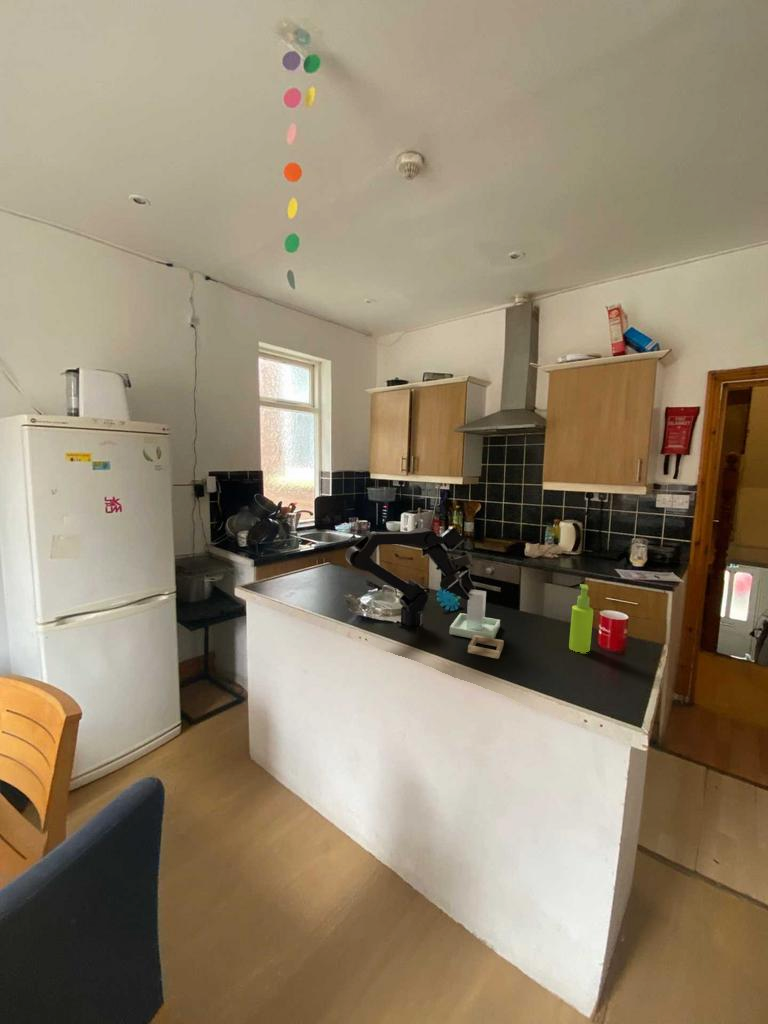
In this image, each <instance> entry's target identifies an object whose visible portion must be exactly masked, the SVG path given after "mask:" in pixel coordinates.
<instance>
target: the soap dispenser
mask: <svg viewBox="0 0 768 1024" xmlns="http://www.w3.org/2000/svg"><path fill="white" fill-rule="evenodd" d="M579 587H580V589H581V590H580V594H579V595H578V596H577V601H576V605H575V604H574V605H572V607H571V619H570V627H569V628H570V630H569V631H570V632H569V641H568V642H569V643H568V648H569V650H570V651H572V650H573V652H574V651H575V653H577V652H580V653H579V654H587V653H586V652H589V651H591V641H592V631H593V630H592V629H593V622H594V621H593V619H594V609H593V608H592V607H590V602H591V598H590V596H588V591H589V586H588V584H585V583H584V584H583V583H580V584H579ZM589 653H590V652H589Z"/></svg>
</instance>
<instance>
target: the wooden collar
mask: <svg viewBox="0 0 768 1024" xmlns="http://www.w3.org/2000/svg"><path fill="white" fill-rule="evenodd" d="M477 644H482V645H487V646H492V647H496V650H495V649H491V648H485V647H481V646H476V645H477ZM503 648H504V640H503V639H497V638H494V639H493V638H488V637H483V636H477V635H474V637H473V638H471V640H470V642H469V644H468V646H467V653H468V654H473V655H477V656H483V657H487V658H492V659H497V660H498V659H499V658H500V656H501V653H502V651H503Z"/></svg>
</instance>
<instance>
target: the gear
mask: <svg viewBox="0 0 768 1024" xmlns="http://www.w3.org/2000/svg"><path fill="white" fill-rule="evenodd" d="M446 590H447V588H446V589H445V590H443V589H442V588H439V589H438V590H437V591H438V592H437V593H436V596H437V598H436V600H437V601H438V602H441V603H440V604H439V605H440V607H441V608H443V607H444V606H446V607H444V609H445V610H446V611H449V610H450V611H449V612H454V611H456V610H459V606H460V602H458V601H459V600H460V599H461V598H462V597H460V596H458V595H457V596H456V595H455V594H453V593H451V592H449V591H446Z"/></svg>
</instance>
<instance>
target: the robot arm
mask: <svg viewBox="0 0 768 1024" xmlns="http://www.w3.org/2000/svg"><path fill="white" fill-rule="evenodd" d="M464 541H465V538H464V536H463V535H462V534H461V533H459V531H458V530H457V529H455V527H454V526H449V527H448V529H447V530H445V531H444V532H442V534H438V533H436V532H435V531H434V530H432V529H429V528H427V527H426V528H425V527H420V528H415V529H412V530H409V531H370V532H368V533H367V535H366V536H365V537H363V538H362V539H360V540H359V541H357V542H356V543H355V544H354V545H353V546H350V547H348V549H346V551H345V555H344V557H345V560H346V561H347V563H349V564H350V565H351V566H352V567H353V568H355V569H358V570H360V571H362V572H366V573H369V574H371V575H374V576H375V577H377V578H378V579H380V580H381V581H383V582H384V583H386V584H388V586H389V585H390V586H391V587H393V588H394V589H396V590H398V591H399V592H401V594H403V595H401V596H400V598H399V603H400V605H401V607H400V623H399V624H398V627H400V628H405V629H410V630H415V631H416V630H418V629H419V628H420V627H421V626H422V624H423V615H424V614H423V610H424V608H425V605H426V603H428V599H429V593H428V592H427V591H426V587H424V586H423V585H421V584H420V583H417V582H416V581H414V580H413V579H411V578H409V580H408V581H406V580H404V579H402V578H401V577H399V576H397V575H396V574H394V573H392V572H391V571H389V570H388V569H386V568H385V567H383V566H381V565H380V564H378V563H377V562H376V561H374V560H373V558H371V556H373V554H374V553H375V551H376V549H377V548H378V546H380V545H381V546H382V545H415V546H419V547H422V549H421V558H425V557H426V556H428V557H429V559H430V560H431V561H432V563H433V564H434V565H435V566H436V567H435V569H436V570H437V571H440V573H442V574H443V576H444V577H443V579H442V580H440V582H439V588H440V589H442V591H443V590H445V589H446V590H445V591H446V592H447V591H449V593H453V594H455V596H457V597H458V596H460V597H461V598H462V599H464V600H466V601H468V600H469V599H470V597H469V596H468V592H467V591H466V590H465V588H466V589H468V590H469V591H470V590H471V589H473V590H477V588H476V586H475V584H474V582H473V580H472V578H471V566H470V565H471V564H473V562H474V560H473V555H472V554H471V552H468V551H467V550H465V551H464V550H463V551H461V553H460V555H459V556H457V557H455V556H454V555H450V554H449V552H448V551H450V552H452V551H454V550H455V549H456V548H457V547H458V546H460V545H461V544H462V543H463V542H464ZM464 587H465V588H464Z"/></svg>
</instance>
